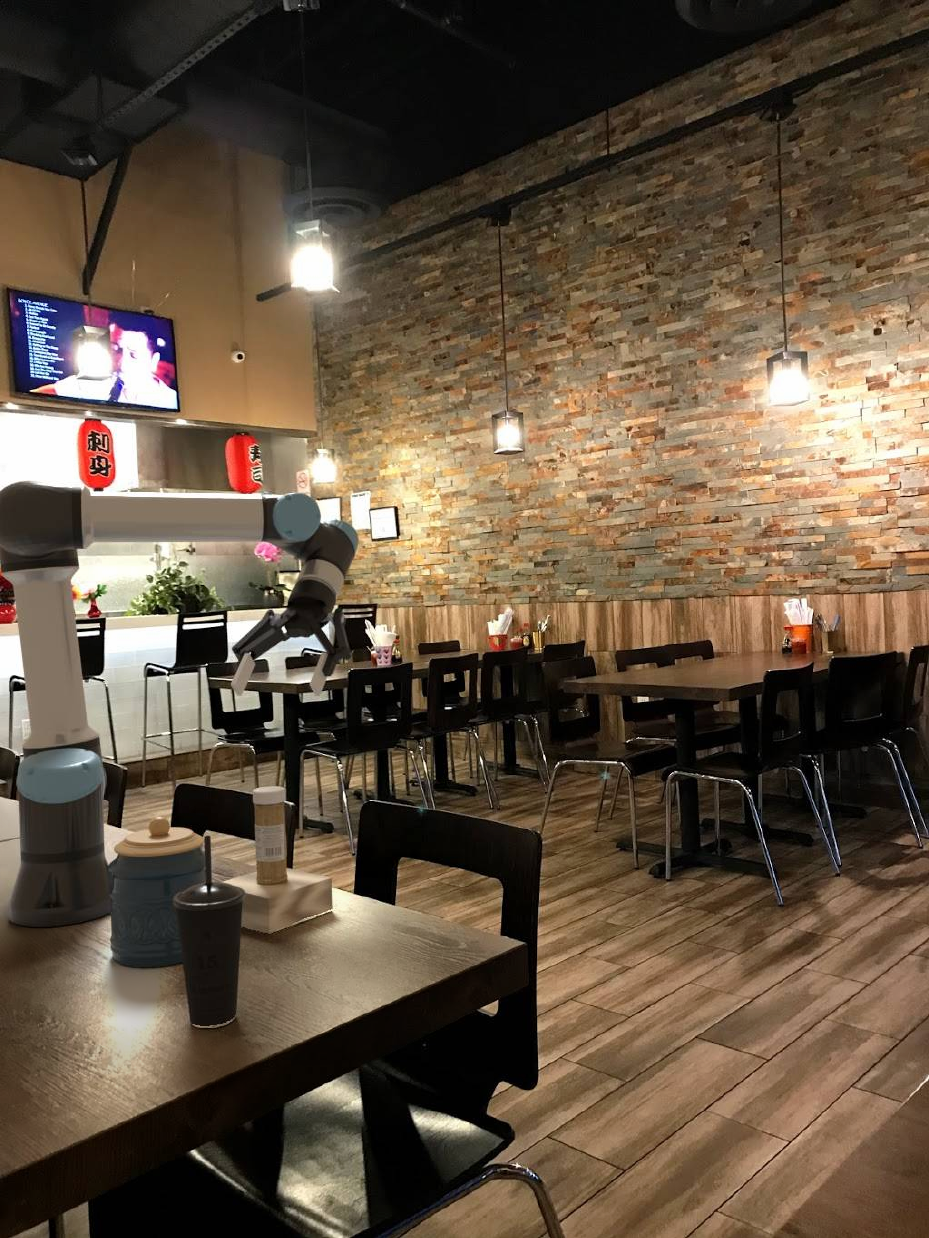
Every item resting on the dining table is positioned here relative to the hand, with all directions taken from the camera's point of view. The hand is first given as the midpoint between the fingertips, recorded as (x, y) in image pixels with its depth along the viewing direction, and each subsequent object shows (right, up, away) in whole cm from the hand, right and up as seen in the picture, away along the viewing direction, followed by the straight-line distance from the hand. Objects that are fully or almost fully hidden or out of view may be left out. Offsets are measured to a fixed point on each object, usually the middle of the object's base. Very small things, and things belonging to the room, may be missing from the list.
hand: (274, 690), depth 153 cm
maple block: (+2, -32, -10) cm, 33 cm away
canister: (-10, -33, -24) cm, 41 cm away
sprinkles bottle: (+1, -27, -10) cm, 29 cm away
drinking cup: (+2, -33, -46) cm, 56 cm away
